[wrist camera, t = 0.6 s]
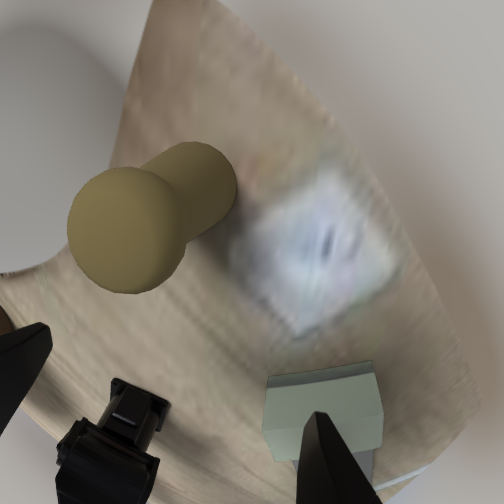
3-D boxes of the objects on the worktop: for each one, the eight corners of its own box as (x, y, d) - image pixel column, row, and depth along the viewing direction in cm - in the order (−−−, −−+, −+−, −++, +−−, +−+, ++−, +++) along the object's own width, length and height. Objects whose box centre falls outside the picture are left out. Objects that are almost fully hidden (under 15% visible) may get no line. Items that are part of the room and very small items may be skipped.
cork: (245, 221, 21) (201, 313, 11) (163, 235, 22) (77, 319, 12) (226, 132, 19) (154, 142, 9) (142, 153, 20) (29, 188, 10)
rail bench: (368, 492, 35) (371, 524, 29) (310, 500, 37) (309, 532, 31) (371, 360, 24) (383, 413, 19) (268, 376, 26) (261, 430, 21)
